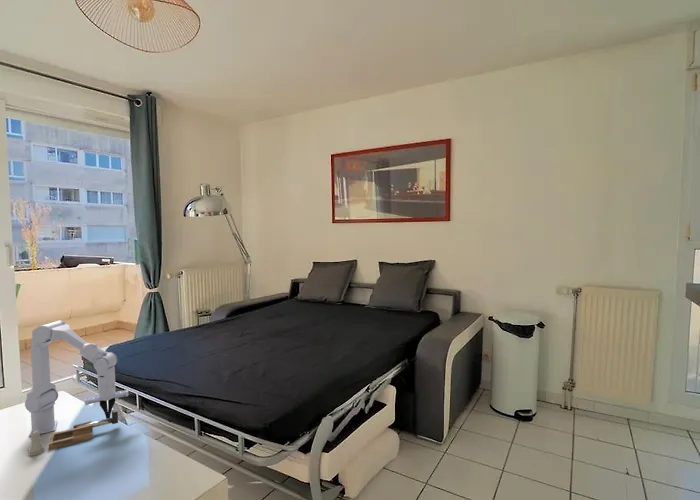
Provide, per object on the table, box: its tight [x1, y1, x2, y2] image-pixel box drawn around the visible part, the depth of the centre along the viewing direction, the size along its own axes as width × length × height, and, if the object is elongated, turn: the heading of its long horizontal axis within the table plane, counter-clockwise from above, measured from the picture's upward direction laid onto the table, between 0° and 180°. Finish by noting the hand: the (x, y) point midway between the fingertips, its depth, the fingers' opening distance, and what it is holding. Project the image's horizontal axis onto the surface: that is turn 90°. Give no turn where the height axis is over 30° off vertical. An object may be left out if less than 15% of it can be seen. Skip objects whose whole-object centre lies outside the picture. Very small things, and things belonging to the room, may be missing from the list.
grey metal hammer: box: [77, 408, 119, 429], centre depth 148 cm, size 3×14×5 cm, turn 124°
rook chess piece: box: [27, 429, 45, 457], centre depth 134 cm, size 4×4×8 cm
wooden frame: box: [48, 420, 93, 450], centre depth 143 cm, size 9×13×4 cm
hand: (108, 417), depth 150 cm, fingers closed
